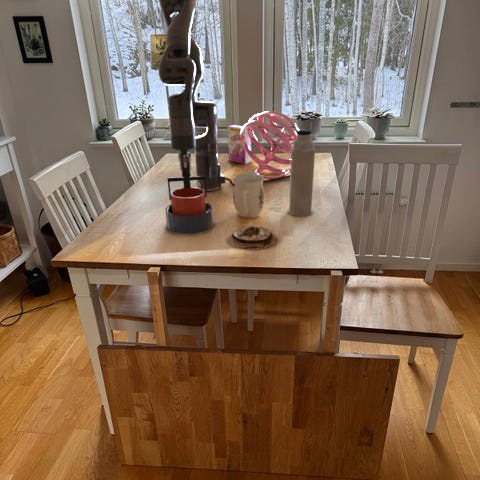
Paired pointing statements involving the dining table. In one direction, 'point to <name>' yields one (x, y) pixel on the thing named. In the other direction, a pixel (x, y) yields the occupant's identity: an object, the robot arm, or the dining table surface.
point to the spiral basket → (270, 141)
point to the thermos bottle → (302, 174)
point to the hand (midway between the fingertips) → (187, 187)
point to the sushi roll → (254, 237)
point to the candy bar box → (238, 145)
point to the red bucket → (188, 198)
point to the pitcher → (248, 194)
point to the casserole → (189, 221)
